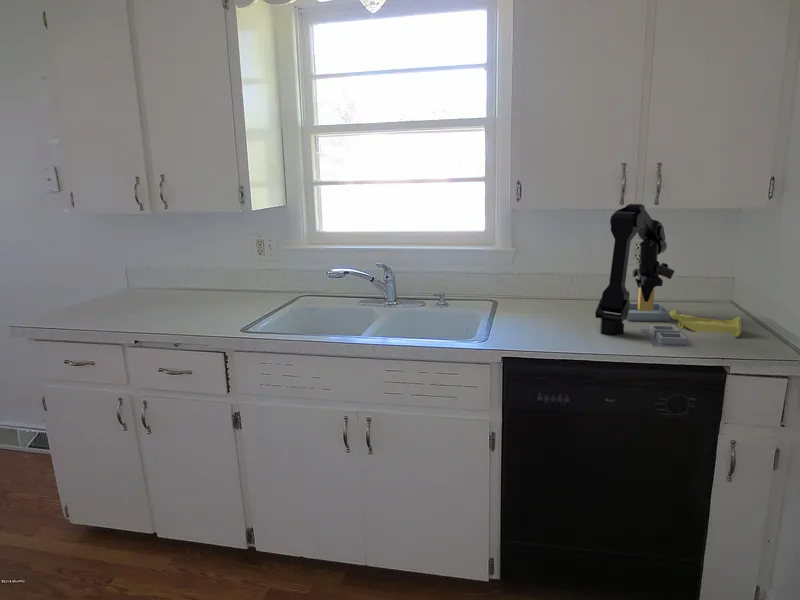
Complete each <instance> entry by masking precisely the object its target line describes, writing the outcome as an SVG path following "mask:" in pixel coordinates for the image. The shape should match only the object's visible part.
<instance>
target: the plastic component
mask: <svg viewBox="0 0 800 600" xmlns="http://www.w3.org/2000/svg"><path fill="white" fill-rule="evenodd" d="M669 312H670V316H671V317H670V318H671V319H673V320H676V321H678V325H677V326H678V328H681V329H689V330H690V331H692V332H696V333H702V332H705V333H706V332H712V333H713V332H714V333H729V334H730V335H731V336H732V337H734V338H738V337H739V336H740V335H741V333H742V327H741V326H742V323H741V321H742V319H741V316H736V317H735V318H733V319H730V320H729V319H728V320H725V319H715V318H705V317H699V316H698V317H697V316H694V315H689V314H683V313H682V314H678V312H677V311H676V310H674V309H672V310H670V311H669Z"/></svg>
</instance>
